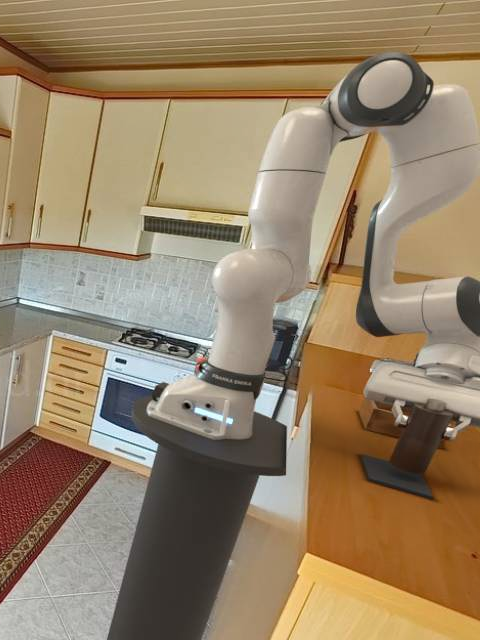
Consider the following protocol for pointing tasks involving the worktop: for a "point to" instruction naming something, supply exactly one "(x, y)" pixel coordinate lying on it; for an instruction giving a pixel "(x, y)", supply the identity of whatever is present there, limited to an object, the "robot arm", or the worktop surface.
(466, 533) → the worktop surface
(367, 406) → the brown wooden open box
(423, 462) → the pepper mill
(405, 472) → the counter mat
